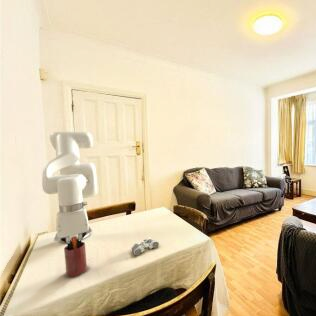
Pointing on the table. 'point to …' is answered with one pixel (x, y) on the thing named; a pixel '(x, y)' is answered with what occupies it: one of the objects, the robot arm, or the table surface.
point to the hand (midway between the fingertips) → (75, 249)
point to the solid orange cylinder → (74, 242)
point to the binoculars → (147, 243)
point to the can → (75, 261)
